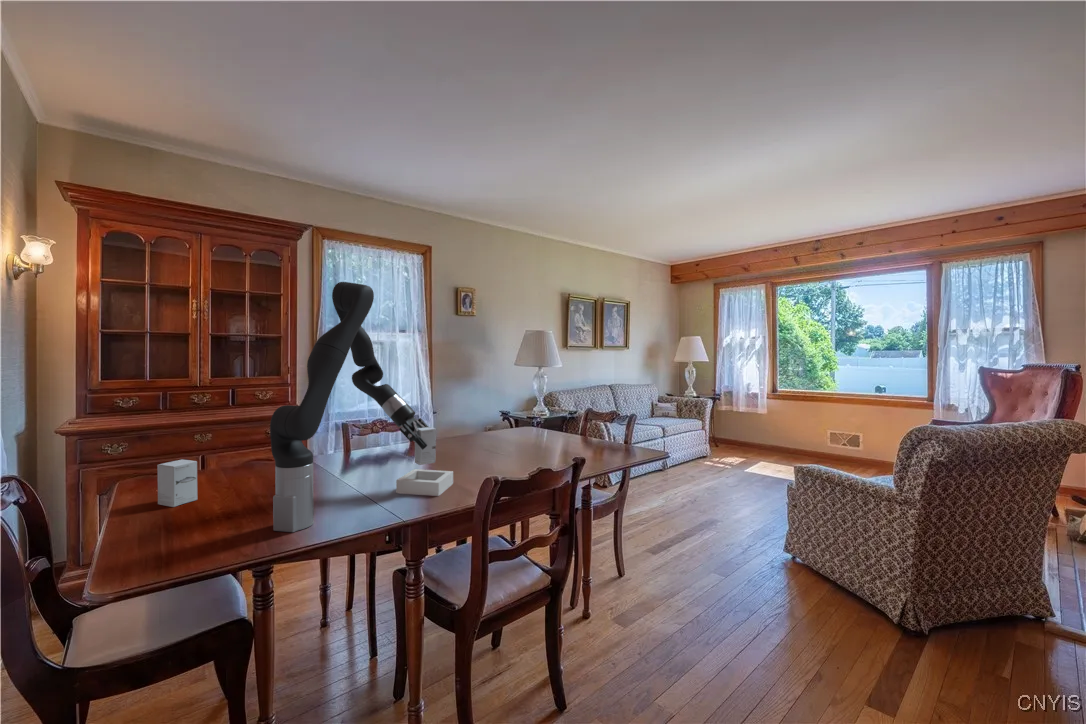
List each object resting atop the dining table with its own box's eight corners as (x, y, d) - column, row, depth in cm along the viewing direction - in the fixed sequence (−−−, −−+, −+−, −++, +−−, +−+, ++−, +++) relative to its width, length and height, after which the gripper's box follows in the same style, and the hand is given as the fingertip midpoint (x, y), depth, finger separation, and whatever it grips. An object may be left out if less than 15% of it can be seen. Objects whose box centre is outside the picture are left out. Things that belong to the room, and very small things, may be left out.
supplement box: (173, 507, 141) (172, 466, 141) (157, 504, 144) (156, 464, 143) (198, 500, 148) (197, 460, 148) (182, 497, 151) (181, 458, 150)
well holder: (438, 496, 155) (438, 482, 155) (396, 493, 157) (396, 480, 157) (453, 483, 169) (453, 471, 169) (414, 481, 171) (414, 469, 171)
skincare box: (420, 465, 159) (420, 430, 158) (414, 463, 162) (414, 428, 161) (436, 462, 163) (436, 428, 162) (429, 460, 166) (430, 426, 166)
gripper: (396, 405, 156) (428, 442, 154) (414, 400, 170) (444, 433, 169) (381, 421, 157) (413, 457, 155) (400, 414, 171) (430, 447, 170)
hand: (429, 445), depth 162 cm, fingers closed on skincare box, 7 cm apart
